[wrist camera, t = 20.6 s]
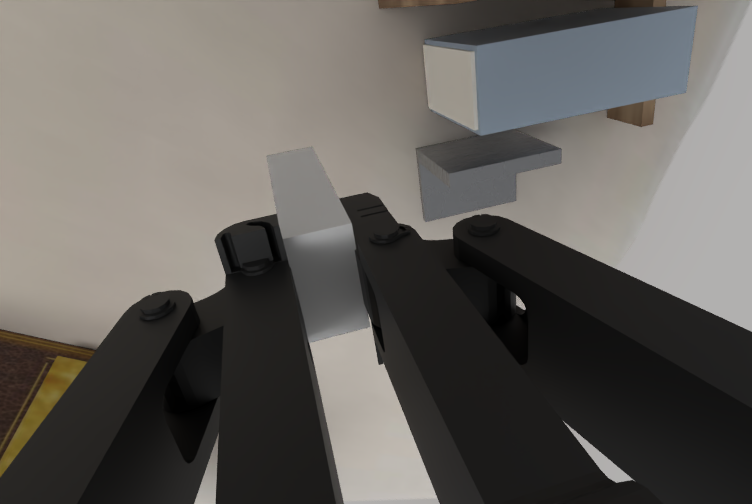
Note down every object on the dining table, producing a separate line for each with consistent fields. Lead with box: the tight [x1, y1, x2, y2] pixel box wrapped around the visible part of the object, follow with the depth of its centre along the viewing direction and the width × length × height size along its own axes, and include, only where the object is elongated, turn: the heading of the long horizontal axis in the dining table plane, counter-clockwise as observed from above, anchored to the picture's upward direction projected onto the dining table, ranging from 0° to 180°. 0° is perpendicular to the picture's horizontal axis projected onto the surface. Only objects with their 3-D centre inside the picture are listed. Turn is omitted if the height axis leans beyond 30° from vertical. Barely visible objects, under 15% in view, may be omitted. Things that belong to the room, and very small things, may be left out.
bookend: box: [416, 129, 561, 222], centre depth 37 cm, size 6×8×7 cm
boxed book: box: [423, 6, 698, 136], centre depth 34 cm, size 5×14×9 cm, turn 98°
